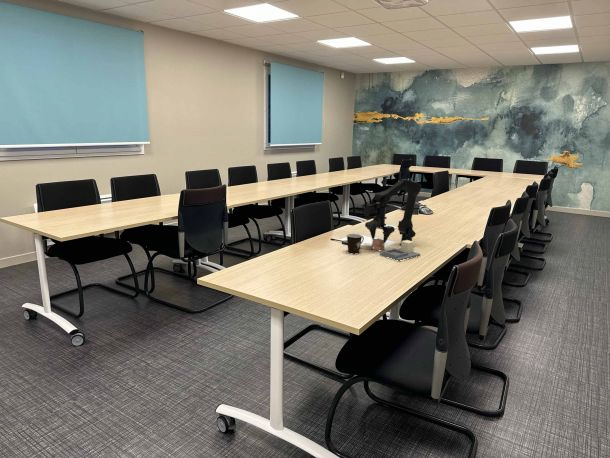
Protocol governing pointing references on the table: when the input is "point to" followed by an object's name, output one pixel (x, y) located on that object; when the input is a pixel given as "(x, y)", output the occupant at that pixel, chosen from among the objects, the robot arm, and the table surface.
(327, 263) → the table surface
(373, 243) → the terracotta block
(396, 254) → the socket board
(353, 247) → the coffee mug
